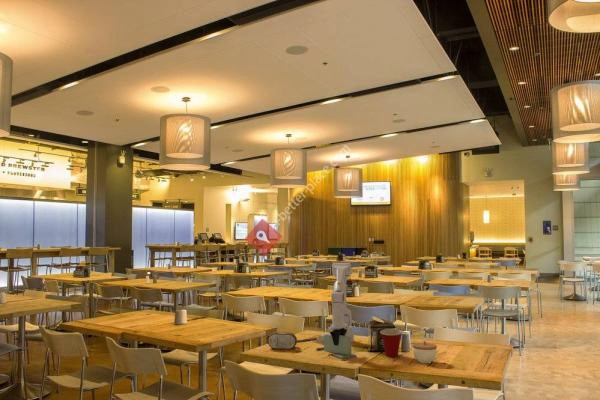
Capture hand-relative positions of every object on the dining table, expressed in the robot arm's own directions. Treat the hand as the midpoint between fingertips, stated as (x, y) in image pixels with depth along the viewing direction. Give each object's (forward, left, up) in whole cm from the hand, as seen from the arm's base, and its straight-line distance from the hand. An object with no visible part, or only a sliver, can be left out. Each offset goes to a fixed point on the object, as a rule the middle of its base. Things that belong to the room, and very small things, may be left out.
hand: (338, 344), depth 250 cm
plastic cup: (-20, +16, -5) cm, 26 cm away
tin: (+17, -25, -5) cm, 31 cm away
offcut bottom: (-7, -20, -4) cm, 22 cm away
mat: (0, 0, -5) cm, 5 cm away
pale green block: (0, 0, -4) cm, 4 cm away
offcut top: (-8, -19, -2) cm, 21 cm away
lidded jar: (-25, +33, -5) cm, 42 cm away
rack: (-3, -20, -5) cm, 21 cm away
